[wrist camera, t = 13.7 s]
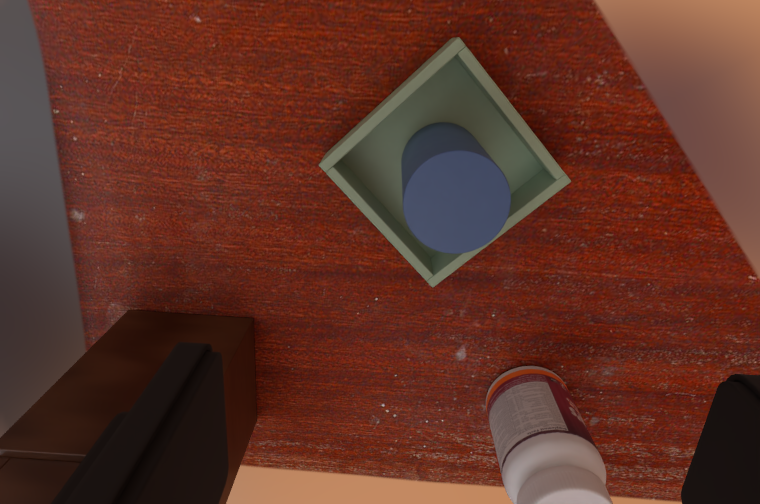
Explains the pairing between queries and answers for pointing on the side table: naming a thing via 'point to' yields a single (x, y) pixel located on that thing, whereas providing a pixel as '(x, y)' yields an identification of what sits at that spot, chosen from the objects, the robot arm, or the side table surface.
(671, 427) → the side table surface
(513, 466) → the pill bottle
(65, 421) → the stand
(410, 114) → the bin
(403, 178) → the vial
